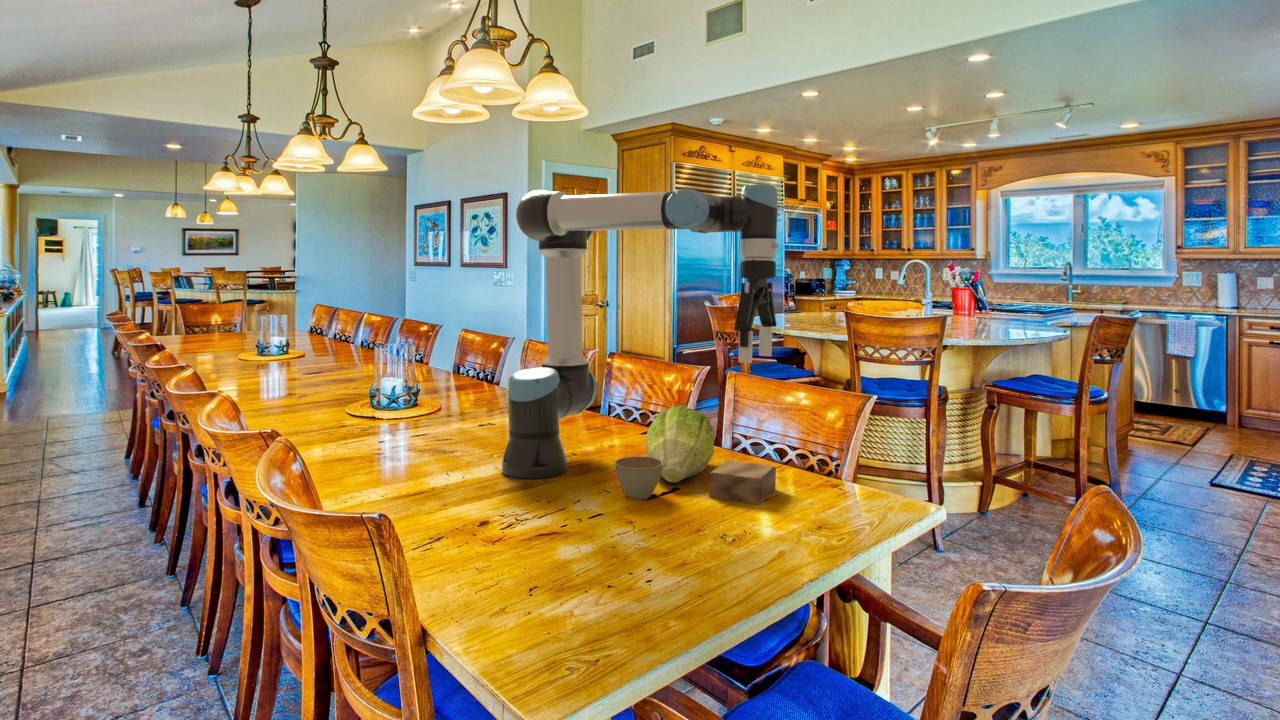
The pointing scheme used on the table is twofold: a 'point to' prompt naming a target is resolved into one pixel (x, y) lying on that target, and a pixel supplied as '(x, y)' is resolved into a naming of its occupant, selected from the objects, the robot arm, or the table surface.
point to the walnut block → (742, 482)
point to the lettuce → (680, 442)
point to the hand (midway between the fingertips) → (755, 359)
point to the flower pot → (638, 475)
